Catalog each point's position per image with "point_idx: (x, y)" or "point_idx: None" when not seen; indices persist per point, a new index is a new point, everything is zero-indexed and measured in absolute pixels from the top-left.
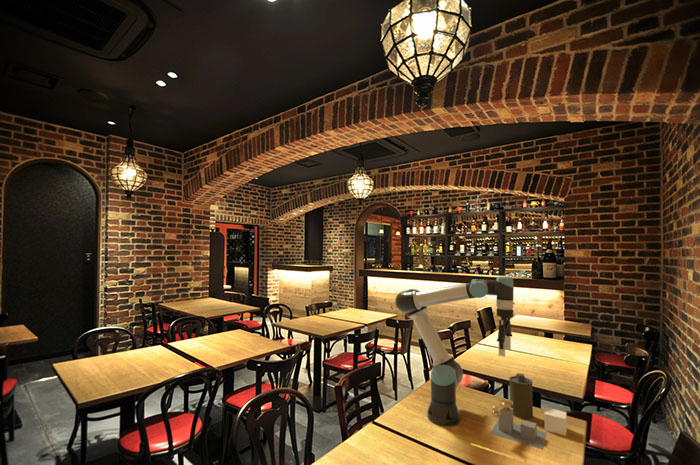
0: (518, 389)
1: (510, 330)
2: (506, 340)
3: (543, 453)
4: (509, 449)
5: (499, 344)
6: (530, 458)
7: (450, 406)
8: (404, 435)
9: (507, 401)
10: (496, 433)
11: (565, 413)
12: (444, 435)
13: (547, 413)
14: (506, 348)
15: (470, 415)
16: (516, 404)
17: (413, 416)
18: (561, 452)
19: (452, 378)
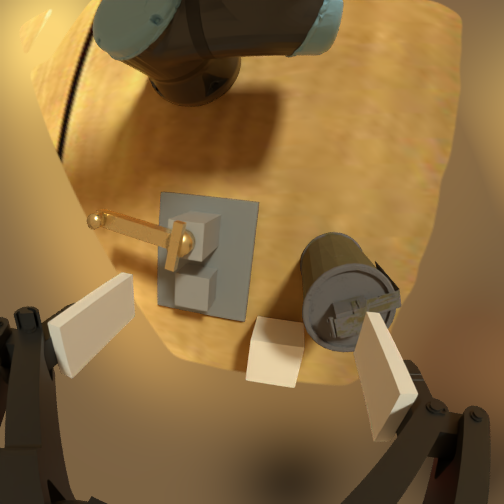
0: (305, 291)
1: (426, 491)
2: (381, 379)
3: (155, 302)
4: (130, 238)
5: (67, 316)
6: None
7: (151, 78)
8: (87, 44)
9: (168, 253)
10: (168, 206)
11: (284, 385)
12: (115, 100)
13: (258, 347)
14: (363, 332)
15: (255, 122)
16: (306, 264)
17: None
18: (181, 335)
19: (110, 53)
